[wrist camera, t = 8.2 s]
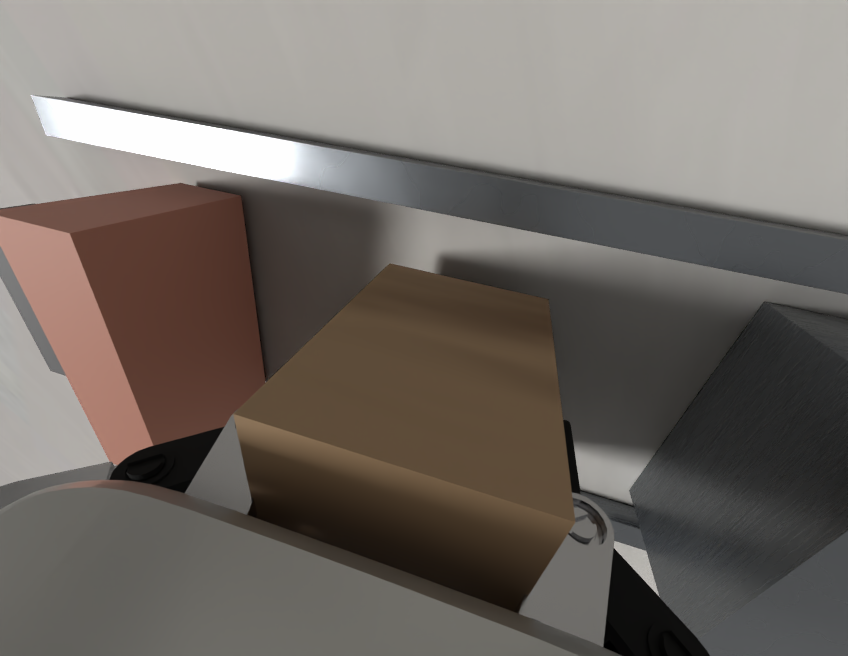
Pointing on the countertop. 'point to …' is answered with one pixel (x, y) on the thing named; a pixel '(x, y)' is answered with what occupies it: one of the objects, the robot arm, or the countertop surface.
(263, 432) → the block
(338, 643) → the robot arm
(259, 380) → the block
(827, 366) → the vise bed
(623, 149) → the countertop surface
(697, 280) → the countertop surface
